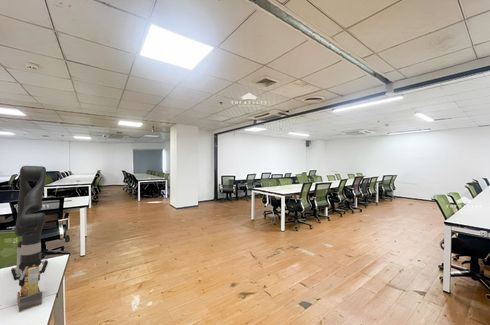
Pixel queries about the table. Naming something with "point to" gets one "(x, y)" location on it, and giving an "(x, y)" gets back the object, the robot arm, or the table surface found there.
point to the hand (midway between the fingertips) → (29, 283)
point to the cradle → (29, 300)
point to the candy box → (30, 281)
